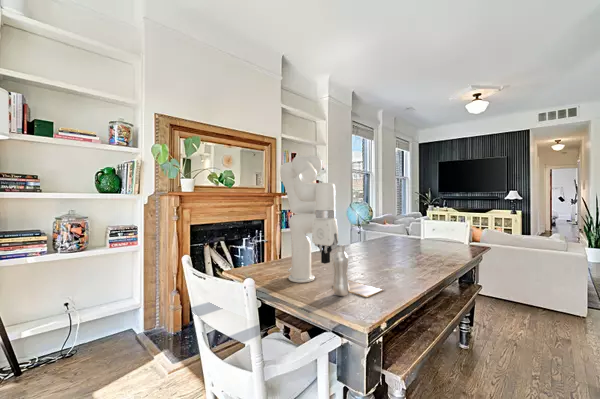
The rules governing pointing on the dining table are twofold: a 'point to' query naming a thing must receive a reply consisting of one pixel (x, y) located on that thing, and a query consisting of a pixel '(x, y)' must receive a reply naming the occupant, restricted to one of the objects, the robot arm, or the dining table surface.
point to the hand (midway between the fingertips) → (325, 262)
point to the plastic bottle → (340, 271)
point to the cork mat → (362, 289)
